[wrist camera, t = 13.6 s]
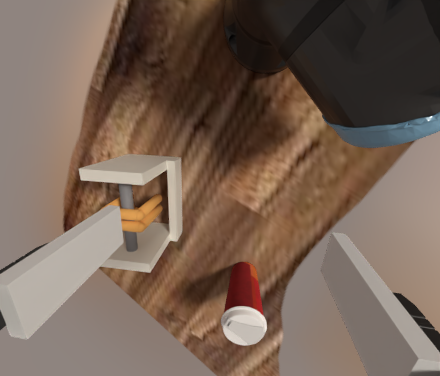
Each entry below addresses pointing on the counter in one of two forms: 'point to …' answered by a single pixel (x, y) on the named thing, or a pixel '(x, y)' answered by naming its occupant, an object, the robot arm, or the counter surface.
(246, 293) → the coffee cup
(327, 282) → the robot arm
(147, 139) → the counter surface
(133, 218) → the cord hank
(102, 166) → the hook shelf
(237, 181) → the counter surface
